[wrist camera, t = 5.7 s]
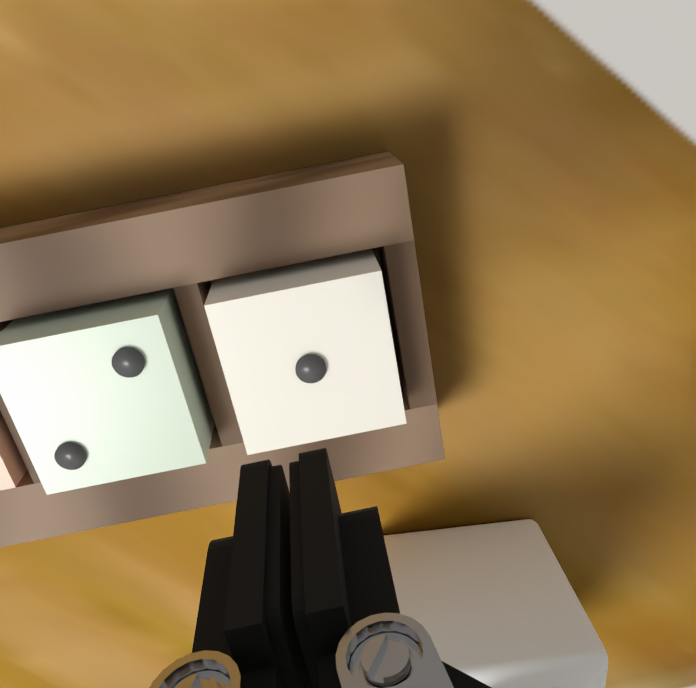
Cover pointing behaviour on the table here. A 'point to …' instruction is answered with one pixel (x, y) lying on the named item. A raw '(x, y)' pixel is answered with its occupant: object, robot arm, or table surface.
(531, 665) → the medicine bottle
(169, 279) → the button board
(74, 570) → the table surface
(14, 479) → the button three terracotta
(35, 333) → the button two sage
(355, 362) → the button one cream
